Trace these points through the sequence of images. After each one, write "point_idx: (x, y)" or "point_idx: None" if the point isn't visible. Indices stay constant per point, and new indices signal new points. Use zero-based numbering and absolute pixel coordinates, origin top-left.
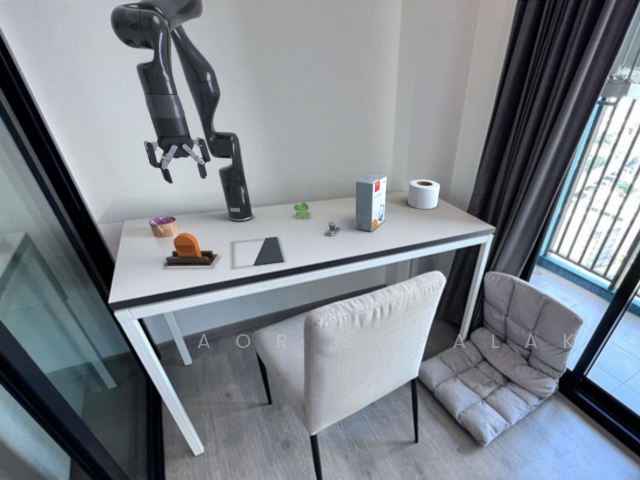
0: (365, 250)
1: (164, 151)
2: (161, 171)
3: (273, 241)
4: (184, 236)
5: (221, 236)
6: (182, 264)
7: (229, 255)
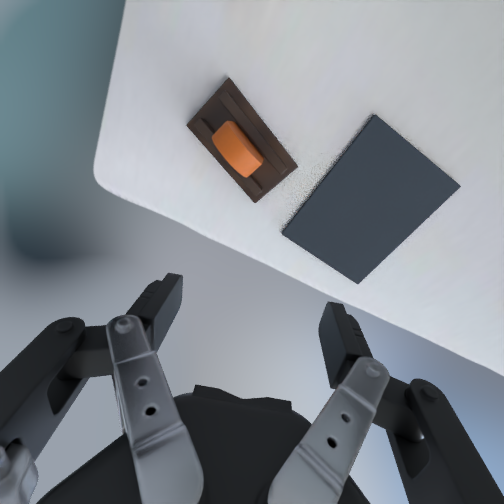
0: (478, 356)
1: (120, 440)
2: (129, 312)
3: (428, 202)
4: (231, 165)
5: (392, 42)
6: (218, 153)
7: (316, 178)
